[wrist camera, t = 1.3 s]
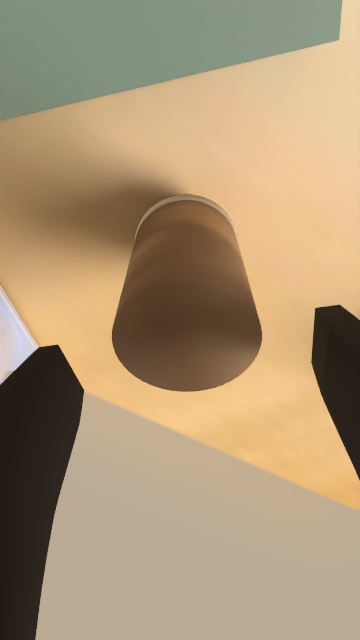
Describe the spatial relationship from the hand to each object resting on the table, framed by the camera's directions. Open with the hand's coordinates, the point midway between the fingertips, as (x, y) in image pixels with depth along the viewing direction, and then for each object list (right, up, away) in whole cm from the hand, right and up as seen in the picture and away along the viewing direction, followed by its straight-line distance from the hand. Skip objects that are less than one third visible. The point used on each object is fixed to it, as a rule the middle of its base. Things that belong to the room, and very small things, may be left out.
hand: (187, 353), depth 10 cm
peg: (0, +6, +7) cm, 9 cm away
